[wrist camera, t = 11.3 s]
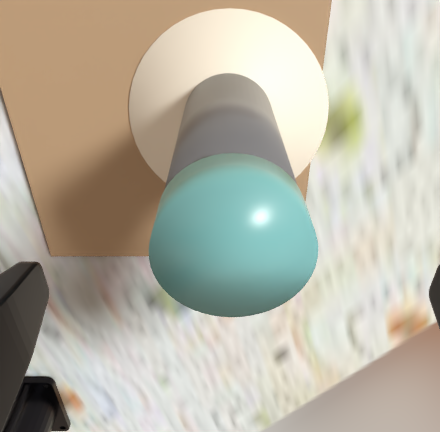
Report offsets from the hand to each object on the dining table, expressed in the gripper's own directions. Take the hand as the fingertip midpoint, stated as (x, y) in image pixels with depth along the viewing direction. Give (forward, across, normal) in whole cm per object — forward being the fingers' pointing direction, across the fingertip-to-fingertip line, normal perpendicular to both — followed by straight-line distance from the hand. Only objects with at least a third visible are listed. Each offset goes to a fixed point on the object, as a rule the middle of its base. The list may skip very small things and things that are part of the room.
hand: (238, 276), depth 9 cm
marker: (+11, 0, 0) cm, 11 cm away
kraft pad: (+11, +3, 0) cm, 12 cm away
